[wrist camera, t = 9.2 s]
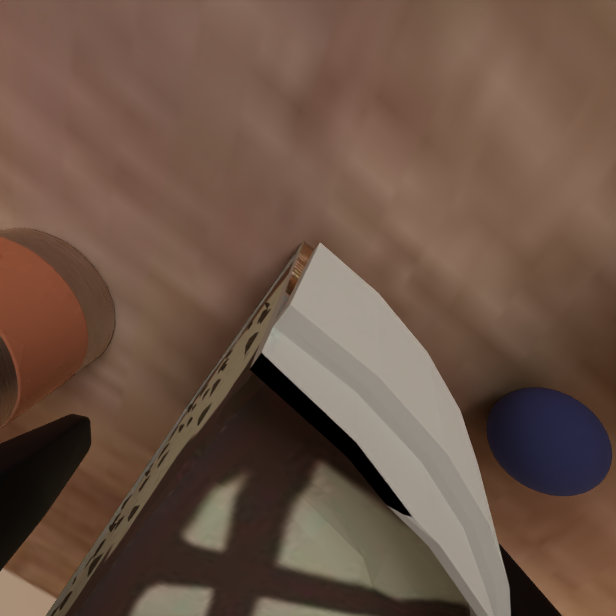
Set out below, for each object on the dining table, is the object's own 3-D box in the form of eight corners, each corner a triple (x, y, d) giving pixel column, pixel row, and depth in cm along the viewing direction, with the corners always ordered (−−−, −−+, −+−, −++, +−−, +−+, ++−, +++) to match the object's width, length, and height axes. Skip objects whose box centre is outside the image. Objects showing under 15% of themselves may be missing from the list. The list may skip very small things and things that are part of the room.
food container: (278, 491, 16) (201, 926, 6) (171, 428, 15) (-101, 830, 6) (460, 306, 12) (944, 753, 2) (328, 205, 11) (303, 305, 2)
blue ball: (580, 380, 13) (671, 450, 9) (538, 448, 14) (604, 531, 10) (492, 360, 13) (550, 423, 9) (458, 430, 14) (498, 508, 10)
